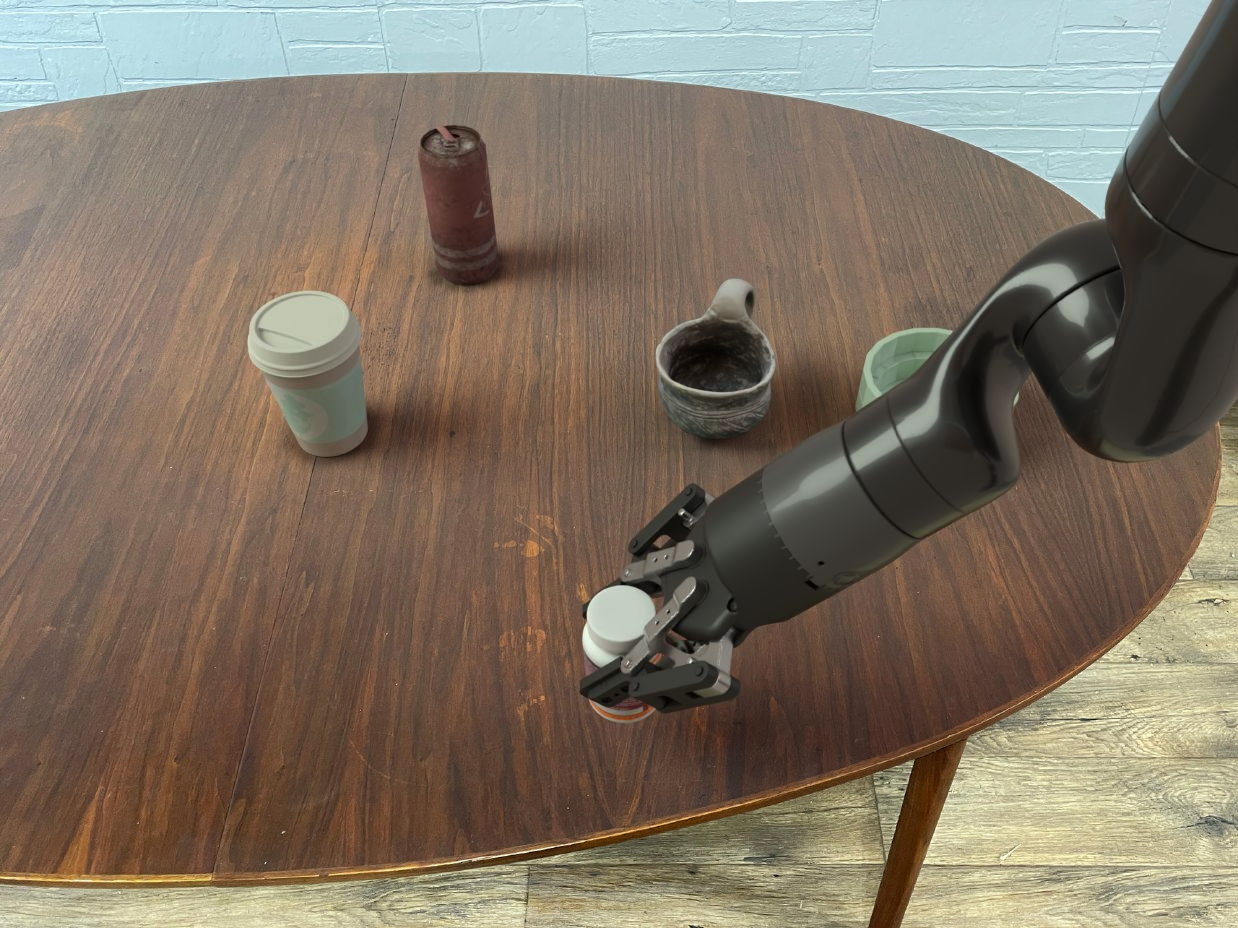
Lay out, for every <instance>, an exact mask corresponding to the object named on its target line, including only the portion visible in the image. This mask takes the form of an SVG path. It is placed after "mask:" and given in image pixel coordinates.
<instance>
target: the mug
mask: <svg viewBox="0 0 1238 928" xmlns="http://www.w3.org/2000/svg"><path fill="white" fill-rule="evenodd" d="M755 305H756V293H755V289H754V287H753V286H752V285H751V283H749V282H748V281H746V280H743V279H741V278H729V279H726V280H725V281H724V282H723V283H722V284H721V285H720V286H719V288H718V290H717V291H716V293H715V295H714V298H713V300H712V302H711V305H710V307H708V309H706V311H705V313H704V314H703V316H701V317H699V318H696V319H691V320H688V321H685V322H682V323H680V324H678V325H676V326H675V327H674V328H672V329H671V330H670V331H668V332H666V334H665V335H664V336H663V337H662V339H661V342H660V343H658V345H657V347H656V349H655V364H656V369H657V373H658V396H659V399H660V402H661V405H662V408H663V410H664V411H665V413H666V416H668V418H669V419H670V420H671V421H672V422H673V423H674V424H675V425H676V426H677V427H679V428H680V429H681V430H683V431H684V432H686V433H688V434H690V435H692V436H694V437H698V438H700V439H701V438H702V439H709V440H724V439H731V438H735V437H738V436H742V435H744V434H745V433H747V432H749V431H750V430H751V429H753V428H755V426H756V425H758V424H759V423H760V422H761V421H762V420H763V418H764V417H765V415H766V414H767V412H768V410H769V407H770V404H771V402H770V401H771V399H772V398H771V397H772V392H771V381H772V378H773V377H774V374H775V372H776V357H775V353H774V350H773V348H772V345H771V342H770V340H769V339H768V337H767V336H766V335H765V333H763V331H762V330H761V329H760V328H759V327H758V326H757V325H756V324H755V322H753V320H752V319H753V316H754V315H753V314H754V310H755Z"/></svg>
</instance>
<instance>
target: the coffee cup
mask: <svg viewBox="0 0 1238 928" xmlns="http://www.w3.org/2000/svg"><path fill="white" fill-rule="evenodd" d="M248 329H249V330H248V332H249V333H248V336H247V351H248V356H249V359H250V360H251V363H253V364H254V365H255V367H257V368H258V369H260V371H261V373H262V375H263V378H264V379H265V381H266V383H267V385H268V387H269V389H270V391H271V393H272V395H273V397H274V399H275V400H276V402H277V404H278V406H279V408H280V411H281V412H282V414H283V417H284V418H285V420H286V422H287V424H288V426H289V427H290V430H291V432H292V434H293V435H294V437H295V439H296V440H297V443H298V445H299V446H300V448H301V449H302V451H305V452H306V453H307V454H310V455H312V456H315V457H322V458H331V457H337V456H342V455H343V454H346V453H348V452H350V451H352V450H354V449H356V448H357V447H358V446H359V445H360V444H361V443H363V441H364V439H365V438H366V437H367V434H368V430H369V425H368V417H367V415H368V414H367V404H366V396H365V386H364V385H365V384H364V377H363V375H364V374H363V367H362V357H361V348H360V343H361V341H362V336H363V335H362V327H361V324H360V323H359V321H358V319H357V316H356V314H355V313H353V311H352V310H351V309H350V308H349V307H348V305H347V304H346V303H345V301H344V300H342V298H340V297H339V296H337V295H335V294H332V293H329V292H326V291H320V290H299V291H294V292H289V293H286V294H282V295H280V296H278V297H275V298H273V299H272V300H269V301H268V302H266V303H265V304H264V305H262V306H261V307H260V308H259V309H258V310H257V311H256V312H255V313H254V314H253V316H252V317H251V319H250V322H249V327H248Z"/></svg>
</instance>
